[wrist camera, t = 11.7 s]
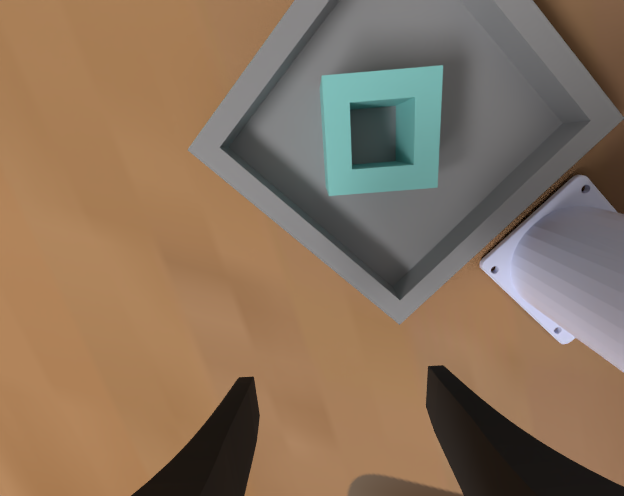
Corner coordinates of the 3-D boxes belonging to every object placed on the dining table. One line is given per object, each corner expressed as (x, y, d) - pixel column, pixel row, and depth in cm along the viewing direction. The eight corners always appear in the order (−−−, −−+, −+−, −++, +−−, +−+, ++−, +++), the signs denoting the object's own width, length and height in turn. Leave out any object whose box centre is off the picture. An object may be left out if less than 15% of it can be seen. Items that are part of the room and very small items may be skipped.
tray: (584, 121, 19) (624, 118, 16) (390, 305, 22) (399, 324, 20) (393, -112, 15) (409, -159, 13) (202, 149, 19) (187, 149, 17)
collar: (417, 80, 17) (443, 65, 14) (415, 180, 19) (437, 187, 16) (319, 88, 18) (321, 75, 14) (325, 187, 19) (329, 196, 16)
